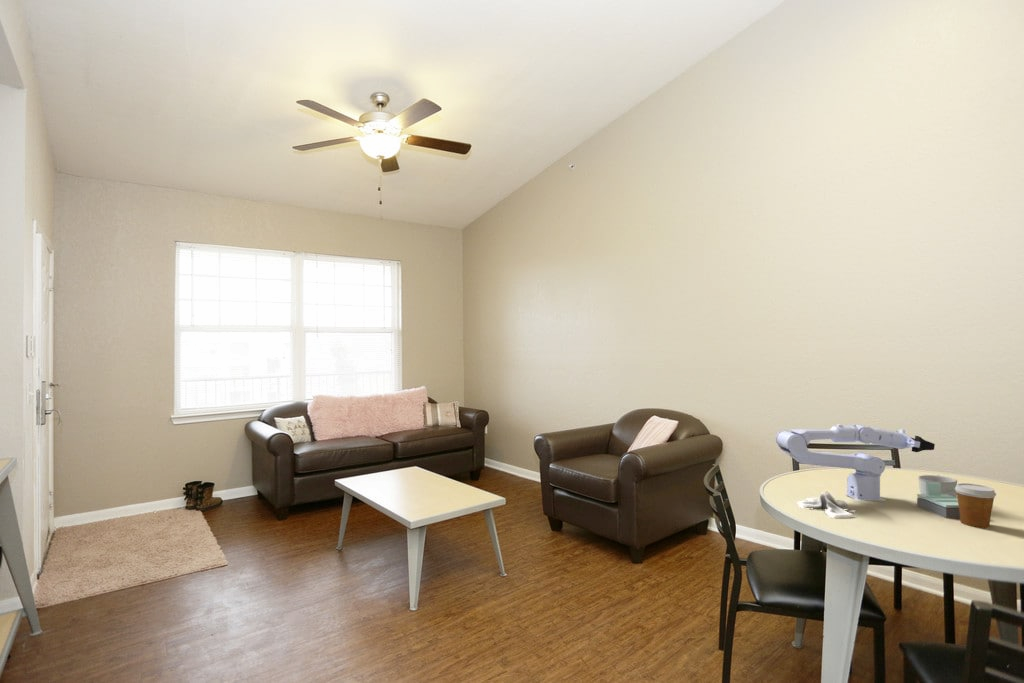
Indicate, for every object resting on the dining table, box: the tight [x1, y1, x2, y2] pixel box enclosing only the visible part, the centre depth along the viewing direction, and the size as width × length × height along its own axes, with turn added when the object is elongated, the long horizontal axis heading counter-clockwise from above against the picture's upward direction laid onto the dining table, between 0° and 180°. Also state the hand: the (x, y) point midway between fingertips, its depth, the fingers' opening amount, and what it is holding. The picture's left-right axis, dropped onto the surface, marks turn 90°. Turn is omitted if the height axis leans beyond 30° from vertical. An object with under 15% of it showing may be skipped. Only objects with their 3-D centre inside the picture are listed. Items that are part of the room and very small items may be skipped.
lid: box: [916, 482, 959, 508], centre depth 173 cm, size 12×10×5 cm
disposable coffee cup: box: [955, 482, 997, 529], centre depth 161 cm, size 10×10×12 cm
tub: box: [916, 496, 960, 519], centre depth 173 cm, size 12×10×4 cm
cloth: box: [796, 491, 857, 519], centre depth 178 cm, size 22×19×6 cm
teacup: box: [917, 474, 958, 497], centre depth 188 cm, size 14×11×8 cm
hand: (925, 444), depth 188 cm, fingers open, 7 cm apart
